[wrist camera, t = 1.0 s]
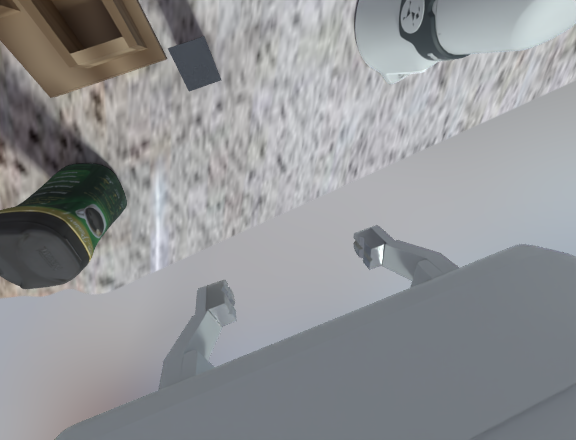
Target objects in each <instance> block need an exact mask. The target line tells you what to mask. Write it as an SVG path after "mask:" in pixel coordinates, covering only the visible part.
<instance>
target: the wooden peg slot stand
mask: <svg viewBox="0 0 576 440" xmlns="http://www.w3.org/2000/svg"><path fill="white" fill-rule="evenodd" d="M0 40H1V42H2V43H3V44H4V45H5V46H6V47H7V48H8V50H9V51H10V52H11V53H12V54H13V55H14V56H15V58H16V59H17V60H18V61H19V62H20V63H21V64H22V66H23V67H24V68H25V69H26V70H27V71H28V72H29V74H30V75H31V76H32V77H33V78H34V79H35V80H36V82H37V83H38V84H39V85H40V86H41V87H42V88H43V90H44V91H45V92H46V93H47V94H48V95H49V96H50V98H51V97H57V96H60V95H63V94H66V93H69V92H71V91H74V90H77V89H80V88H83V87H86V86H89V85H92V84H95V83H98V82H101V81H104V80H107V79H110V78H113V77H116V76H119V75H122V74H125V73H128V72H131V71H133V70H136V69H139V68H142V67H145V66H148V65H151V64H154V63H157V62H160V61H163V60H166V59H167V57H166V55H165V53H164V51H163V49H162V47H161V45H160V43H159V41H158V39H157V37H156V35H155V33H154V31H153V29H152V27H151V25H150V23H149V21H148V20H147V18H146V16H145V14H144V12H143V10H142V8H141V6H140V4H139V2H138V0H0Z"/></svg>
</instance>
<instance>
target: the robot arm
mask: <svg viewBox="0 0 576 440" xmlns="http://www.w3.org/2000/svg"><path fill="white" fill-rule="evenodd" d="M575 24H576V0H359V2H358V7H357V12H356V21H355V33H356V41H357V46H358V49H359V52H360V54H361V56H362V58H363V60H364V61H365V62H366V64H367V65H368V66H370V67H371V68H372V69H374V70H376V71H378V72H380V73H381V74H382V76H383V78H384V79H385V81H386V82H387V83H388V84H395V83H397V82H399V81H400V80H402V79H403V78H405V77H407V76H408V75H410V74H412V73H422V72H425V71H426V69H427V68H429V67H431V66H433V65H434V64H436V63H437V62H438V61H450V60H455V59H459V58H463V57H466V56H468V55H470V54H479V53H493V52H507V51H521V50H526V49H530V48H532V47H535V46H538V45H540V44H542V43H545V42H547V41H549V40H551V39H553V38H555V37H557V36H558V35H560V34H562V33H563V32H565V31H567V30H568V29H570V28H571V27H573V26H574V25H575ZM398 74H399V75H398ZM354 239H355V242H354V249H355V252H356V253H357V255H358V256H359V257H361V258H363V262H364V264H365V265H366V266H367V267H368V269H369V270H370V269H373V268H376V267H379V266H383V267H385V268H387V269H389V270H391V271H393V272H395V273H397V274H399V275H401V276H403V277H405V278H407V279H409V280H411V281H412V284H411V287H410V288H409V289H406V290H404V291H402V292H399V293H397V294H394V295H392V296H389V297H387V298H384V299H382V300H380V301H377V302H374V303H372V304H370V305H367V306H365V307H362V308H360V309H357V310H355V311H352V312H350V313H348V314H345V315H343V316H340V317H338V318H335V319H333V320H330V321H328V322H325V323H323V324H320V325H318V326H315V327H313V328H311V329H308V330H306V331H303V332H301V333H298V334H296V335H293V336H291V337H289V338H286V339H284V340H281V341H279V342H276V343H274V344H271V345H269V346H266V347H264V348H261V349H259V350H257V351H254V352H252V353H249V354H247V355H244V356H242V357H239V358H237V359H234V360H232V361H229V362H227V363H225V364H222V365H220V366H217V367H214V366H213V365H212V364H211V363H210V362H209V358H210V356H211V354H212V351H213V349H214V346H215V344H216V342H217V339H218V336H219V334H220V332H221V330H222V327H223V326H225V325H228V324H230V323H233V322H235V321H236V310H235V308H234V307H233V306H234V304H235V299H234V295H233V292H232V290H231V289H230V287H228V283H227V282H226V280H222V281H219V282H216V283H213V284H210V285H207V286H204V287H201V288H198V291H197V299H196V312H195V315H194V316H192V318H191V319H190V321H189V322H188V324H187V325H186V327H185V329H184V330H183V332H182V333H181V335H180V336H179V338H178V339H177V341H176V343H175V344H174V346H173V347H172V349H171V351H170V352H169V354H168V355H167V356H166V358H165V359H164V362H163V368H162V373H161V379H160V385H159V390H158V391H156V392H153V393H151V394H148V395H146V396H143V397H141V398H138V399H136V400H133V401H131V402H128V403H126V404H124V405H121V406H119V407H116V408H114V409H111V410H109V411H106V412H104V413H101V414H99V415H96V416H94V417H92V418H89V419H86V420H84V421H81V422H79V423H76V424H74V425H72V426H70V427H68V428H67V429H65V430H64V431H63V432H61V433H60V434H59V435H58V436H57V437H56V439H54V440H576V257H575V256H573V255H570V254H568V253H564V252H560V251H556V250H552V249H547V248H543V247H538V246H533V245H527V244H519V245H515V246H512V247H510V248H507V249H505V250H502V251H500V252H497V253H495V254H493V255H490V256H488V257H485V258H483V259H480V260H478V261H475V262H473V263H471V264H468V265H465V266H463V267H461V268H459V267H458V266H456V265H455V264H454V263H452V262H451V261H450V260H449V259H447V258H446V257H445V256H443V255H442V254H441V253H439V252H435V251H432V250H429V249H425V248H422V247H419V246H416V245H413V244H409V243H406V242H403V241H399V240H396V241H395V240H394V239H393V238H392V237H390V235H388V234H387V233H386V232H385V231H384V230H383V229H382V228H380V227H379V226H378V225H376V226H373V227H370V228H367V229H364V230H362V231H359V232H356V233H354Z"/></svg>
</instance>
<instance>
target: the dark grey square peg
mask: <svg viewBox="0 0 576 440" xmlns="http://www.w3.org/2000/svg"><path fill="white" fill-rule="evenodd" d="M168 50H169V52H170V54H171V56H172V58H173V60H174V62H175V64H176V66H177V68H178V70H179V72H180V74H181V76H182V78H183V80H184V82H185V84H186V86H187V88H188V90H189V91H192V90H194V89H197V88H200V87H203V86H206V85H209V84H212V83H214V82H217V81H220V80H221V78H220V75H219V73H218V70H217V68H216V65H215V63H214V60H213V57H212V55H211V52H210V50H209V47H208V45H207V42H206V40H205V37H204V36H203V37H200V38H197V39H194V40H191V41H188V42H186V43H183V44H180V45H177V46H174V47H171V48H168Z"/></svg>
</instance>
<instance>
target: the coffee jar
mask: <svg viewBox="0 0 576 440" xmlns="http://www.w3.org/2000/svg"><path fill="white" fill-rule="evenodd" d="M126 205H127V200H126V196H125V193H124V191H123V188H122V186H121V184H120V182H119V180H118V179H117V177H116V175H115V174H114V173H113V172H112V171H111V170H110V169H108V168H106V167H104V166H102V165H98V164H90V163H82V164H72V165H68V166H66V167H64V168H63V169H61V170H60V171H59V172H57V173H56V174H55V175H54V176H53V177H52V178H51V179H49V180H48V181H47V182H46V183H45V184H44V185H43V186H42V187H41V188H40V189H38V190H37V191H36V192H35V193H34V194H32V195H31V196H30V197H29V198H28V199H26V200H25V201H24V202H22V203H21V204H19V205H18V206H16V207H11V208H7V209H3V210H0V276H1V277H3V278H4V279H6V280H8V281H10V282H11V283H14V284H16V285H18V286H20V287H21V288H22V289H33V288H43V287H50V286H56V285H61V284H65V283H67V282H68V281H70V280H72V279H73V278H75V277H76V276H77V275H78V274H79V273H80V272H81V271H82V270H83V269H84V268H85V267H86V265H87V264H88V263H89V262H90V260H91V258H92V255H93V252H94V249H95V247H96V245H97V243H98V241H99V240H100V238H101V237H102V236H103V234H104V233H105V232H106V231H107V229H108V228H109V227H110V226H111V225H112V223H113V222H114V221H115V220H116V219H117V218H118V217H119V216H120V214H121V213H122V212H123V210H124V209H125V208H126Z"/></svg>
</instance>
